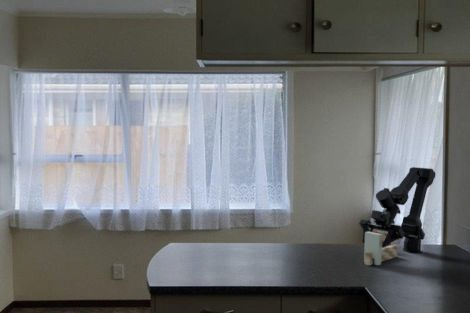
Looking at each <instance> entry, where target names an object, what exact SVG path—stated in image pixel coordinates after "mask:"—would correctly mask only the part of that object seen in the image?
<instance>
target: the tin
mask: <svg viewBox="0 0 470 313" xmlns="http://www.w3.org/2000/svg"><path fill="white" fill-rule="evenodd" d="M372 232H373V233H379V234H382V244H383V242H384V240H385V238H386V236H387V234H388V232H385V231H381V230H376V229H373V231H372ZM390 245H392V242H391V243H390V244H388V245H387V246H390ZM385 247H386V246H385ZM382 248H383V247H382Z"/></svg>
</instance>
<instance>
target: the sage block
mask: <svg viewBox="0 0 470 313" xmlns="http://www.w3.org/2000/svg"><path fill="white" fill-rule="evenodd" d="M365 252H372V258H374V259H375V263H374V264H373V265H375V266H380V265H382V262H381V253H382V234H379V233H373V232H365V243H364V252H363V262H364V263H365Z"/></svg>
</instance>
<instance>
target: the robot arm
mask: <svg viewBox="0 0 470 313" xmlns="http://www.w3.org/2000/svg"><path fill="white" fill-rule="evenodd" d="M435 178H436V172H435V171H434V168H431V167H430V168H428V167H426V168H425V167H415V166H413V167H410V168H409V170H408V172H407V174H406V175H405V176H404V178H403V179H402V181H401V182H400V183H399V185H398V186H395V187H393V188H392V189H391V190H390V189H389V187H384V188H383V189H382V190H379V191H377V192H376V194H375V197H376V198H375V199H376V200H377V202H378V203H379V205H380V207H381V208H383V209H382V210H381V211H380V210H376V209H375V210H373V209H372V211H371V214H370V217H369V218H371V219H373V222H374V223H375V224H374V223H372V222H371V220H370V219H365V218H361V219H360V220H359V222H358V225H359V226H360V228H361V229H362V232H363V234H362V241H361V242H362V244H365V232H372V231H373V230H377V231H380V232H385V233H387V236H386V238H385V240H384V242H383V244H382V247H383V248H384V247H385V246H387V245H388V244H390V243H391V244H392V243H393V242H395V241H397V240H402V239H403V238H404V240H403V248H402V250H403V251H404V252H407V253H410V254H411V253H423V250H422V247H421V246H422V240H423V241H424V239H425V237H426V233H425V232H424V230H423V222H422V220H421V215H422V211H423V207H424V203H425V199H426V195H427V191H428V188H429V187H431V185H433V183H434V180H435ZM415 184H416V186H415V189H414V193H413V197H412V200H411V206H410V209H409V212H408V215H407V216H404V217H403V218H402V222H401V225H398V224H395V219H396V217H397V215H398V214H399V215H400V214H401V209H400V207H399V206H398V205H400V206H405V205H406V204H407V202H408V199H409V193H410V191H411V190H412V188H413V187H414V185H415Z"/></svg>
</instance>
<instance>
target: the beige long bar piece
mask: <svg viewBox="0 0 470 313" xmlns="http://www.w3.org/2000/svg"><path fill="white" fill-rule="evenodd" d="M395 258H398V245H397V244H391V245H390V246H386V247H384V248H382V253H381V263H382V262H384V261H388V260H391V259H395ZM374 263H375V259H374V258H372V252H365V262H364V265H365V266H372V265H374Z"/></svg>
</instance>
